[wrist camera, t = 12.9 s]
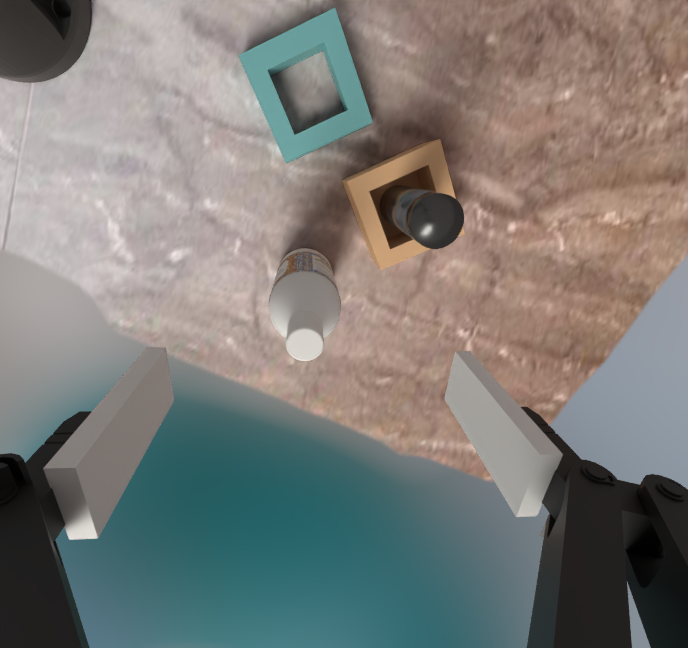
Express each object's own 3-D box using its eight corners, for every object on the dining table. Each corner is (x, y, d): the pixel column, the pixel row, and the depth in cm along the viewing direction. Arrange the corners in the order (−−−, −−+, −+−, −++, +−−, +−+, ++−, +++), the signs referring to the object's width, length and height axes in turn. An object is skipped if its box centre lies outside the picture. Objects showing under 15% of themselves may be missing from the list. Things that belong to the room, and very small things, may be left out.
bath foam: (292, 237, 43) (282, 285, 24) (342, 262, 45) (367, 325, 26) (268, 285, 45) (243, 363, 27) (317, 308, 47) (324, 396, 28)
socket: (341, 180, 41) (346, 181, 35) (421, 143, 40) (440, 139, 35) (371, 258, 45) (380, 270, 39) (445, 225, 44) (465, 233, 39)
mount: (242, 62, 35) (238, 55, 33) (333, 18, 35) (335, 7, 32) (287, 163, 39) (285, 162, 37) (368, 125, 39) (372, 122, 36)
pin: (374, 194, 41) (404, 207, 28) (409, 178, 40) (456, 184, 28) (387, 229, 43) (420, 257, 30) (421, 214, 42) (469, 236, 29)
